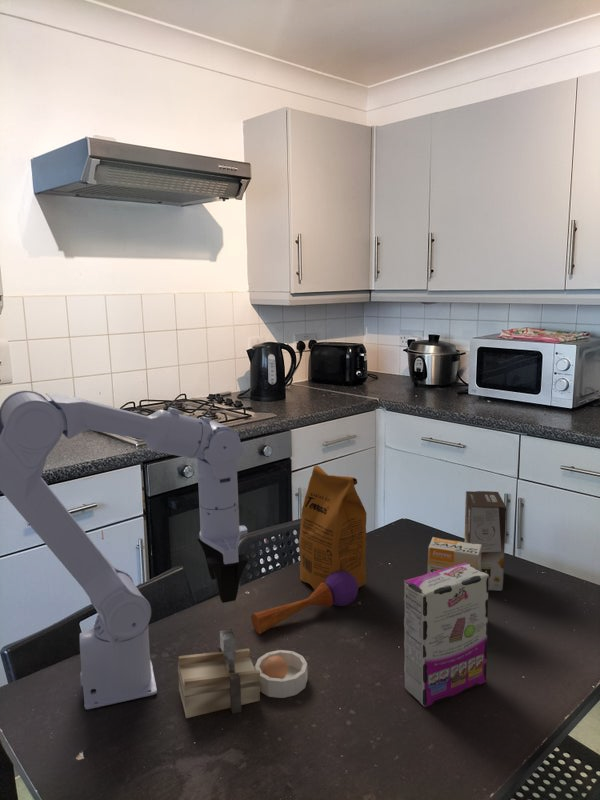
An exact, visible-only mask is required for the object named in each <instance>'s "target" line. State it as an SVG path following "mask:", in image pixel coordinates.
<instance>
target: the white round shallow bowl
mask: <svg viewBox="0 0 600 800" xmlns="http://www.w3.org/2000/svg"><path fill="white" fill-rule="evenodd" d="M272 656H279V657H281V658H283V659H284V660H285V661H286V663H287V667H288V670H287V674H286V676H285V678H283V679H279V678H270V677H269V676H267V675H265V674H264V664H265V662H266V661H267V659H269V658H270V657H272ZM254 668H255V670H259V671H260V682H259V684H260V693H262V694H264V695H265V696H267V697H269V698H277V699H284V698H289V697H293V696H296V695H298V694H299V693H301V692H302V691H303V690H304V689H306V686H307V682H308V662H307V660H306V659H305V658H304V656H303V655H301V654H299V653H297V652H296V651H294V650H293V651H292V650H283V649H277V650H274V651H269V652H266V653H265V654H263V655H262V656H260V657H258V658H257V661H256V663H255V665H254Z"/></svg>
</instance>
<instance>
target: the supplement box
mask: <svg viewBox="0 0 600 800" xmlns="http://www.w3.org/2000/svg"><path fill="white" fill-rule="evenodd" d="M427 549H428V551H427V572H426V574H428V573H432V572H435V571H439V570H442V569H445V568H449V567H452V566H455V565H459V564H462V563H468V564H470V565H472V567H475V568H477V569H479V570H480V568H481V549H482V545H481V544H474V543H467V542H464V541H460V540H454V539H453V540H451V539H447V538H440V537H435V536H432V538H431V541H430V543H429V545H428V548H427Z"/></svg>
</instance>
